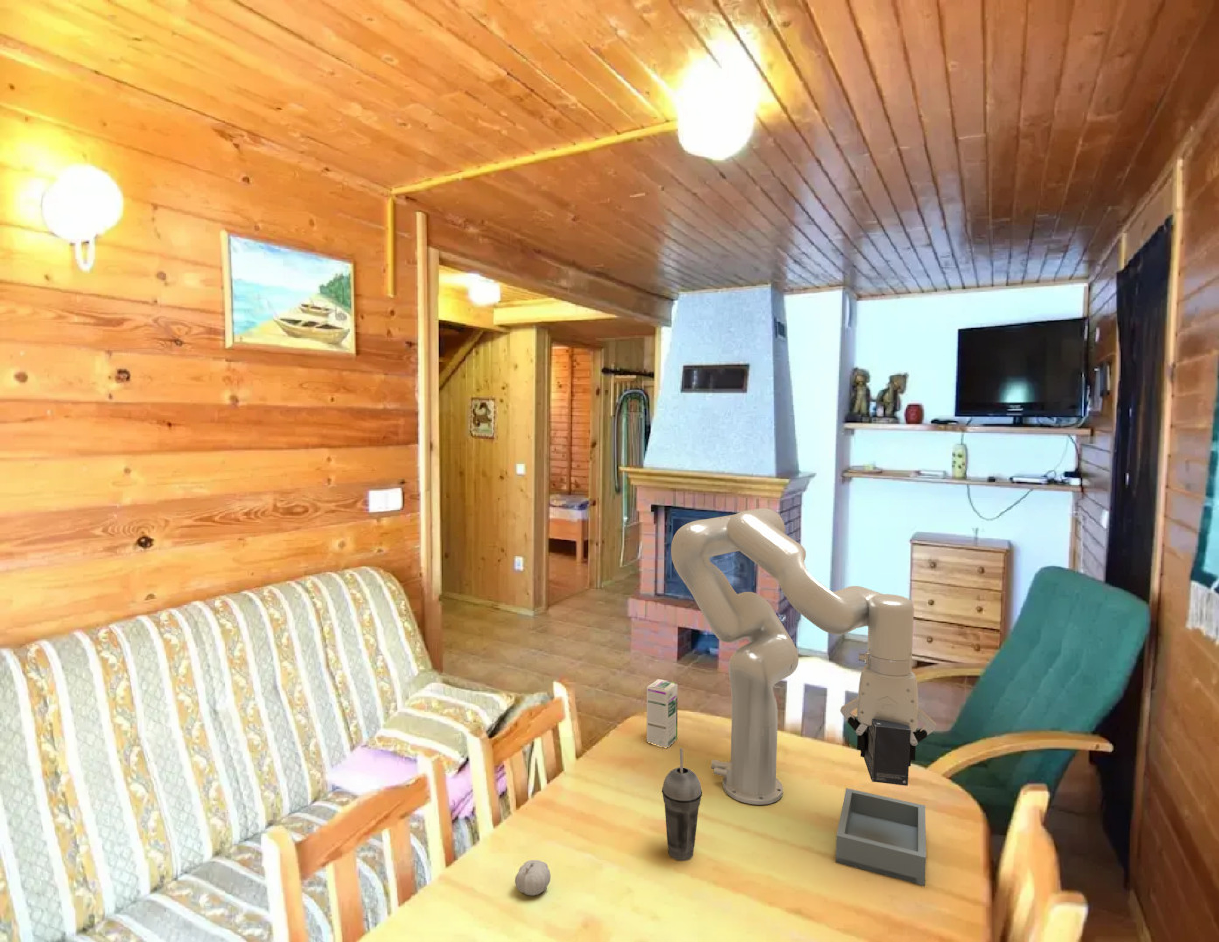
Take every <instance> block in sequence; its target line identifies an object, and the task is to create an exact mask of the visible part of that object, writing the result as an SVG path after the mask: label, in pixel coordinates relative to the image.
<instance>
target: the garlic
mask: <svg viewBox="0 0 1219 942" xmlns="http://www.w3.org/2000/svg"><path fill="white" fill-rule="evenodd" d="M550 882H551V871H550V869H549V867H548V864H547V863H546V862H545V861H543V860H539V859H529V860H527V861H525V862H524V863H523V865H521V866H520V867H519V869H518V872H517V873H516V875H515V878H514V883H515V884H514V885H515V887H516V889H517V890H518V891H519V892H520V893H522V894H525V895H527V896H537V895H540V894H541V893H542V892H544V891H546V890H547V888H548V886H549V884H550Z"/></svg>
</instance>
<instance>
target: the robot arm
mask: <svg viewBox="0 0 1219 942" xmlns="http://www.w3.org/2000/svg"><path fill="white" fill-rule="evenodd" d="M735 552H740V553H741V554H743V555H744V556H746V557H747V558H748V559H749V560H751V561H752V562H754V563H755V564H756V565H757V566H758V567H760V569H763V571H765V572H766V573H768V574H769V575H770V576H771V577H773V578H774V579H775V580H776V581H777V582H778V584H779V587H780V589H781V591H782V593H783V595H784V596H785V597H786V600H787V601H788V602H789V604H790V605H791V606H792V607H793V608H794V609H795V610H796V612H798V613H799V614H800V615H802V616H803V617H804V618H805V619H807V620H808V621H809V622H811V623H812V624H813V625H814V626H816V627H817V628H819V629H821V630H822V631H824V632H826V633H828V634H831V635H835V636H836V635H837V636H841V635H845V634H848V633H850V632H852V631H854V630H856V629H860V628H864V627H867V649H866V652H865V653H858V661H861V662H863V663H864V664H865V665H863V667H862V670H861V672H860V673H861V674H860V677H859V683H858V684H859V685H858V691H857V692H858V693H857V697H856V698H855V699H853V700H851V701H849V702H847V703H845V704H844V705H842V706H841V707H840V709H839V710H840V713H841V714H842V716H843V717H844V719H845V720H846V721H847V723H848V724H849V726H850V727H851V728H852V729H853V731H855V734H856V735H857V737H856V750H858V751H860V758H864V757H865V752H866V731H865V729H866V728H867V727H868V726H872V719H878V720H884V721H890V722H895V723H899V724H904V725H908V726H909V727H910V729H911V735H910V754H909V768H910V767H911V766H912V765H911V764H912V763H911V762H912V761H913V762H915V761H916V752H917V751H916V747H917V745H918V743H920V742H922V741H923V740H924V739H926V738H927V737H928V736H929V735H930V734H931V733H933V732H934V731H935V730H936V728H937V723H936V722H935V721H934V720H933V719H932V718H931V717H930V716H929V715H928V714H926V713H925V712H924V711H923V710H922V709H921V708H920V707H919V693H918V692H919V691H918V683H917V677H916V674H915V672H913V671H912V661H913V642H914V640H913V639H914V638H913V637H914V616H915V611H914V610H915V607H914V604H913V602H912V600H910V599H909V598H907V597H905V596H901V595H898V594H889V593H888V594H887V593H881V592H878V591H874V590H872V589H869V588H866V587H863V586H859V585H850V586H847V587H845V588H842V589H841V588H840V589H838V590H836V591H832V590H830V589H829V588H828V587H826V585H824V584H822V583H821V582H820V581H818V580H817V579H816V578H815V576H813V575H812V574H811V573H810V572H809V570H808V569H807V567H806V565H805V564H806V563H805V561H806V556H807V554H806V549H805V547H804V546H803V545H802V544H800V543H799V542H797V540H795V539H794V538H792V537H790V536H789V535H787V534H786V525H785V522H784V520H783V518H782V517H781V515H779V513H778V512H775V510H772V509H770V508H765V507H762V508H761V507H760V508H754V509H747V510H743V511H740V512H738V513H735V514H731V515H724V516H718V517H711V518H707V519H706V518H705V519H698V520H697V519H696V520H694V521H690V522H687V523H686V524H684V525H682V526H681V527H680V528H678V530H676V532H675V534H674V536H673V538H672V541H671V546H670V555H671V561H672V565H673V566H674V569H675V571H676V572H677V574H678V576H679V577H680V579H681V580H682V581H683V584H685V586H686V587H687V589H688V590H689V592H690V593H691V595H692V597H693V599H694V601H695V603H696V604H697V606H698V608H699V610H700V612H701V613H702V615H703V617H704V618H705V619H704V620H706V622H707V624H708V626H709V627H710V629H711V630H712V632H713V634H714V635H715V637H716V638H717V639H718V640H719V641H721V642H722V643H726V644H732V643H736V642H741V641H742V640H744V639H747V640H748V641H749V642H748V643H747V644H744V645H742V646H740V647H739V648H737V649H736V650H735V651H734V652H733V654H732V655H731V657H730V659H729V662H728V677H729V683H730V691H731V692H730V693H731V731H730V734H731V735H730V736H731V737H730V738H731V739H730V761H726V762H723V761H721V760H717V759H711V764H710V765H711V767H710V768H711V770H713V775H717V776H722V777H723V779H722V788H723V790H724V792H725V793H726V794H727V795H728V796H729V797H731V799H734V800H736V801H738V802H740V803H743V804H748V805H755V806H756V805H757V806H762V805H770V804H773V803H776V802H778V801H779V800H780V799H781V798H782V797H783V794H784V785H783V783H782V782H781V781H780V780H779V779H778V778H777V754H778V750H777V749H778V719H779V718H778V716H779V714H778V713H779V711H778V710H779V709H778V703H777V699H776V696H775V693H774V686H775V685H776V684H778V683H779V682H780V681H782V680H785V679H786V678H788V677H790V676H791V675H793V674H794V672H795V671H796V670H797V668H798V665H799V654H798V649H797V647H796V645H795V643H794V641H793V640H792V638H791V637H790V635H789V633H788V631H787V629H786V628H785V627H784V625H783V623H782V622H781V620H780V618H779V616H778V615H777V614H776V612H775V610H774V609H773V607H772V605H771V604H770V602H768V600H766V599H765V598H764V597H763V596H762V595H761V594H758V593H757V592H753V591H744V592H739V593H737V592H736V590H734V587H732V585H731V584H730V582H729V580H728V578H727V577H726V575H725V574H724V572H723V571H722V570H720V568H718V566H716V565H715V564H714V563H712V562H711V560H710V558H711V557H716V556H721V555H725V554H730V553H735ZM855 709H856V717H857V718H856V717H855V716H854V715H853V713H852V711H854V710H855ZM919 721H920V722H921V723H923V724H924V725H923V726H922V727H921V728H919V729H918V723H919ZM917 729H918V730H917Z"/></svg>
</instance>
